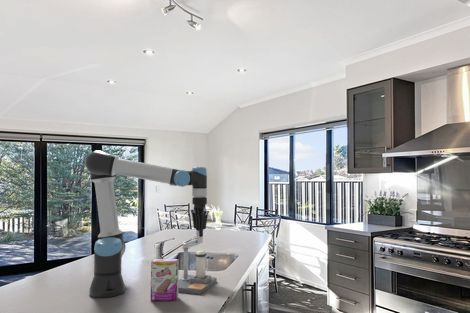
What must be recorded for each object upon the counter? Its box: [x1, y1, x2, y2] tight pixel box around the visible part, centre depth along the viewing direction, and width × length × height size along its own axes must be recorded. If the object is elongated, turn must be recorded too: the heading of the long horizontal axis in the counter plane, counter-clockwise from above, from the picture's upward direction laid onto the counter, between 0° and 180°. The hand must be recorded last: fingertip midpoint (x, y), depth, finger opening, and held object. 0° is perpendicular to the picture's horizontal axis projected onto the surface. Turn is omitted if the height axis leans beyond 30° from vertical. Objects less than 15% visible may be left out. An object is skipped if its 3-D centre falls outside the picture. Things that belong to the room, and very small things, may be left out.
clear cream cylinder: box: [194, 250, 207, 279], centre depth 169 cm, size 5×5×14 cm
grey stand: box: [178, 249, 218, 295], centre depth 168 cm, size 20×16×17 cm
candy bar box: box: [150, 258, 180, 302], centre depth 151 cm, size 11×5×16 cm, turn 92°
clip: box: [182, 238, 201, 250], centre depth 178 cm, size 3×15×2 cm, turn 157°
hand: (199, 242), depth 182 cm, fingers closed
